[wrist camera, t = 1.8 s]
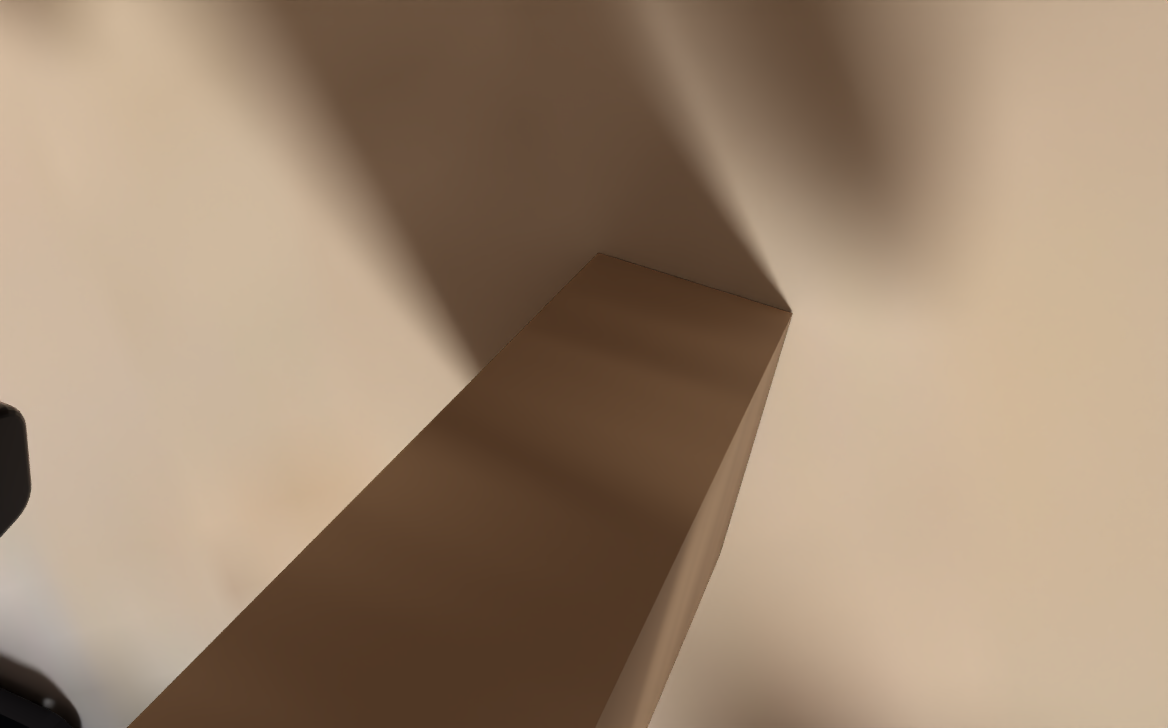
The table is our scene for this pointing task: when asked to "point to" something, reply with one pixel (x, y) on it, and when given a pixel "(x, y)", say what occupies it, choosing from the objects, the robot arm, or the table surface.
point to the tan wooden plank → (519, 532)
